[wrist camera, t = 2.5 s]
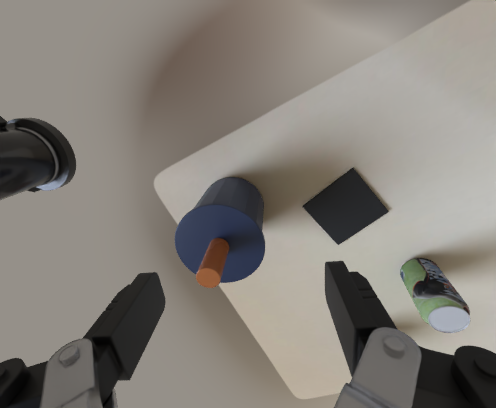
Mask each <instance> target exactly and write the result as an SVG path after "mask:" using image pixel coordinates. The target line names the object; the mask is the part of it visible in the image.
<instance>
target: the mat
mask: <svg viewBox="0 0 496 408" xmlns="http://www.w3.org/2000/svg"><path fill="white" fill-rule="evenodd" d="M303 207H304V209H305V210H306V211H307V212H308V213H309V214H310V215H311V216H312V217H313V218H314V219H315V220H316V222H317V223H318V224H319V225H320V226H321V227H322V228H323V229H324V230H325V231H326V232H327V233H328V234H329V236H330V237H331V238H332V239H333V240H334V241H335V242H336V243H337V244H338V245H339V244H340V243H342V242H344V241H345V240H347V239H348V238H350V237H351V236H353V235H354V234H356V233H357V232H359V231H360V230H362V229H363V228H365V227H366V226H368V225H369V224H371V223H372V222H374V221H375V220H377V219H378V218H380V217H381V216H383V215H384V214H386V213H387V212H389V211H388V210H387V209H386V208H385V206H384V205H383V204H382V203H381V202H380V200H379V199H378V198H377V197H376V195H375V194H374V193H373V192H372V190H371V189H370V188H369V187H368V186H367V184H366V183H365V182H364V181H363V179H362V178H361V177H360V176H359V174H358V173H357V172H356V171H355V170H354V168H352V169H350V170H349V171H348V172H347V173H345V174H344V175H343V176H341V177H340V178H339V179H337V180H336V181H335V182H333V183H332V184H331V185H330V186H328V187H327V188H326V189H324V190H323V191H322V192H320V193H319V194H318V195H317V196H315V197H314V198H313V199H311V200H310V201H309V202H307V203H306V204H305V205H303Z"/></svg>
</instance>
